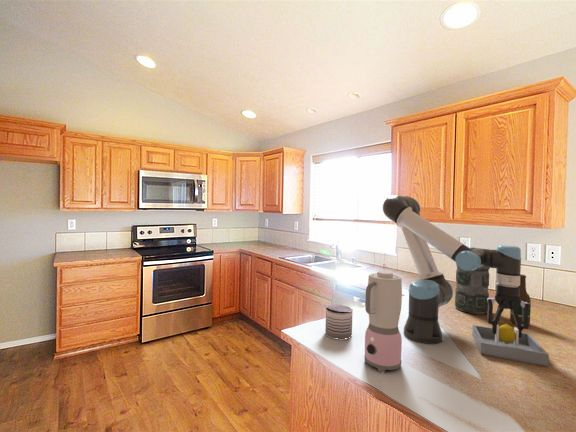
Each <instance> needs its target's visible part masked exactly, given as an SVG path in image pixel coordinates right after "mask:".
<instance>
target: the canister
mask: <svg viewBox="0 0 576 432" xmlns="http://www.w3.org/2000/svg"><path fill="white" fill-rule="evenodd" d="M455 264H456V263H455ZM489 270H490V268H488V267H480V268H477V269H476V270H473V271H465V270H462V269H460V268H459V267H458V266H457V264H456V272H455V282H456V287H455V293H454V307H455V308H456V310H458V311H461V312H462V313H470V314H473V315H485V314H486V313H487V312H488V302H487V298H490V293H489V287H490V273H489Z"/></svg>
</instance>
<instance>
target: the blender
mask: <svg viewBox="0 0 576 432" xmlns="http://www.w3.org/2000/svg"><path fill="white" fill-rule="evenodd" d="M367 279H368V280H367V281H368V282H367V286H366V287H365V312H366V313H367V315H368V320H369V323H368V325H367V328H366V330H365V334H364V364H368V365H370V366H371V367H373V368H376V369H377V372H378V371H380V372H379V373H382V372H385V373H386V371H387V370H388V371H390V370H391V371H392V370H397V369H399V368H400V367H401V366H402V347H403V346H402V342H403V341H402V340H403V339H402V334H401V332H400V330H399V322H400V318H401V313H402V304H403V303H402V302H403V299H402V297H403V288H402V287H403V286H402V285H403V284H402V282H403V281H402V277H401V276H399V275H396V274H394V273H393V272H392V271H388V270H378V271H377V272H375V273H370V274H368V278H367Z"/></svg>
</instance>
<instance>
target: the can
mask: <svg viewBox="0 0 576 432" xmlns="http://www.w3.org/2000/svg"><path fill="white" fill-rule="evenodd" d="M353 310H354V308H351V307H349V306H347V305H342V304H334V303H333V304H330V303H328V304H326V305H325V328H324V329H325V332H326V333H325V335H326V334H327V335H328V336H330V337H332V338H338V339H345V338H349V337H350V336H351V335H352V336H353ZM327 335H326V336H327ZM328 336H327V337H328ZM352 336H351V337H352ZM330 337H329V338H330ZM351 337H350V338H351ZM332 338H331V339H332ZM350 338H349V339H350Z"/></svg>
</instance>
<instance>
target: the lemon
mask: <svg viewBox="0 0 576 432" xmlns="http://www.w3.org/2000/svg"><path fill="white" fill-rule="evenodd" d="M499 338H500V340H501V341H502V342H504V343H505V344H509V343H512V342H514V340H515V331H514V327H513V326H510V324H508V323H505V324H502V325H500V326H499Z"/></svg>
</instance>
